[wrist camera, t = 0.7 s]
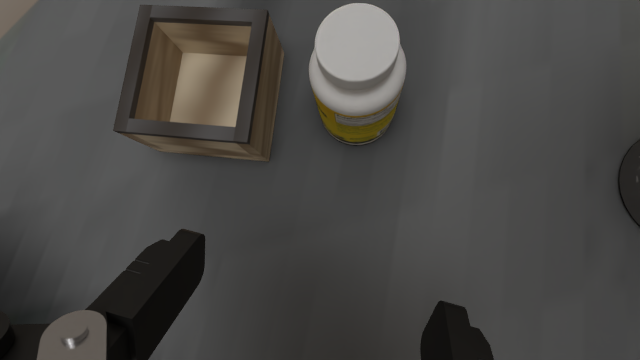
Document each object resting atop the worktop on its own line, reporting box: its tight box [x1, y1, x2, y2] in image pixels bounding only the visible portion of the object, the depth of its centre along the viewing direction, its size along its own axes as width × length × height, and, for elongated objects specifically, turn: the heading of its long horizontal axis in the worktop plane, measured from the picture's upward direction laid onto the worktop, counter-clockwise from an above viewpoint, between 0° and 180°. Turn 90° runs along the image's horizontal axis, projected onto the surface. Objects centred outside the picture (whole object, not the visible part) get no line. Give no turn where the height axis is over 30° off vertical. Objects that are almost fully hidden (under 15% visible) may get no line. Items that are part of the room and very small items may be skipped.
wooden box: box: [113, 5, 284, 162], centre depth 28 cm, size 10×10×6 cm
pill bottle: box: [309, 3, 406, 145], centre depth 24 cm, size 6×6×11 cm
